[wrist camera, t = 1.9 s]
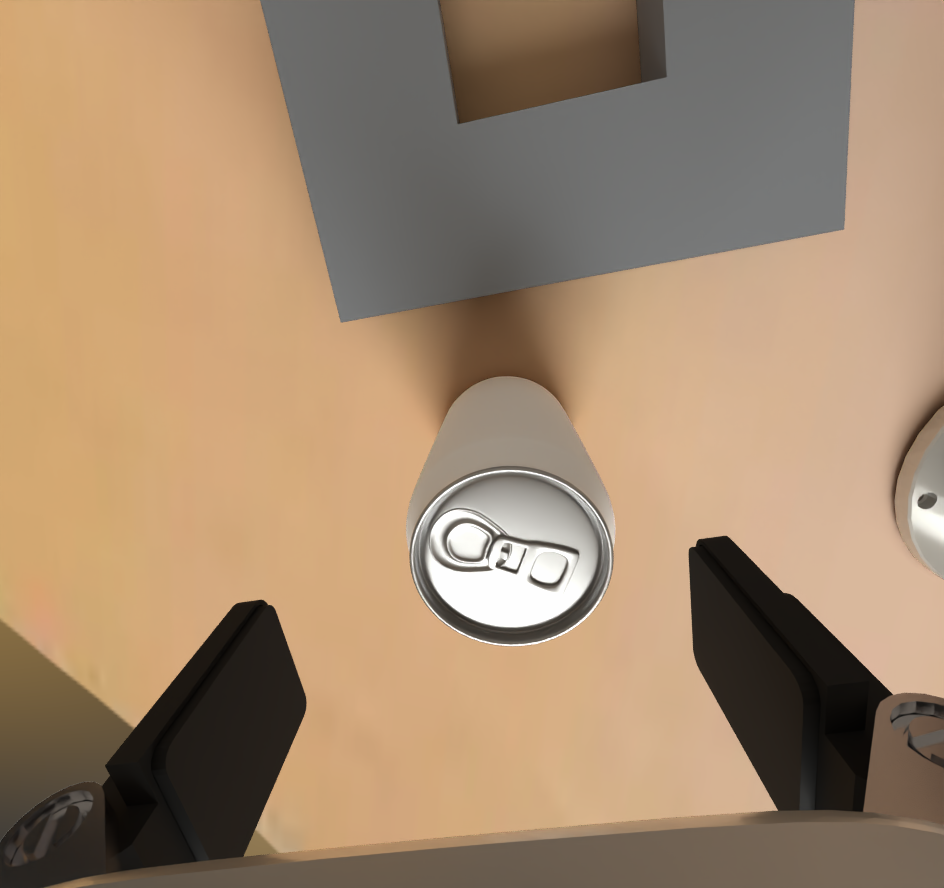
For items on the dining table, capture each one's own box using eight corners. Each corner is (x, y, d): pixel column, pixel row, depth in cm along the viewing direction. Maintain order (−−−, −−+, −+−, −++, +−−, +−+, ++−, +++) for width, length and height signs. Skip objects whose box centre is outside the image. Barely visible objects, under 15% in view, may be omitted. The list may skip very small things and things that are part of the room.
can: (464, 356, 24) (429, 419, 12) (589, 397, 24) (670, 494, 12) (428, 473, 25) (369, 622, 14) (544, 509, 26) (578, 684, 14)
